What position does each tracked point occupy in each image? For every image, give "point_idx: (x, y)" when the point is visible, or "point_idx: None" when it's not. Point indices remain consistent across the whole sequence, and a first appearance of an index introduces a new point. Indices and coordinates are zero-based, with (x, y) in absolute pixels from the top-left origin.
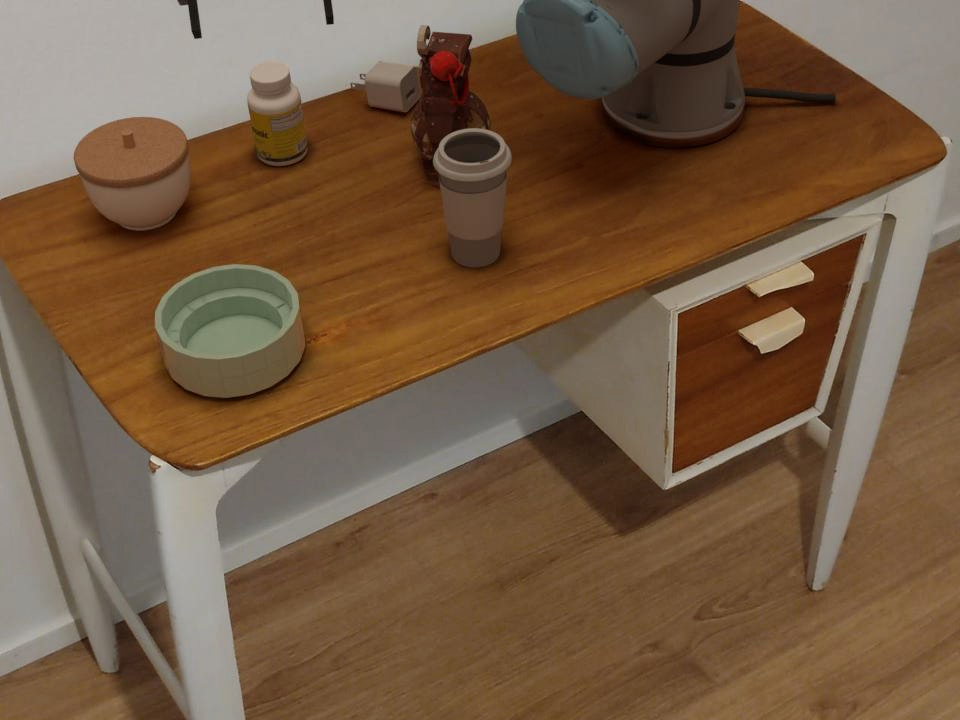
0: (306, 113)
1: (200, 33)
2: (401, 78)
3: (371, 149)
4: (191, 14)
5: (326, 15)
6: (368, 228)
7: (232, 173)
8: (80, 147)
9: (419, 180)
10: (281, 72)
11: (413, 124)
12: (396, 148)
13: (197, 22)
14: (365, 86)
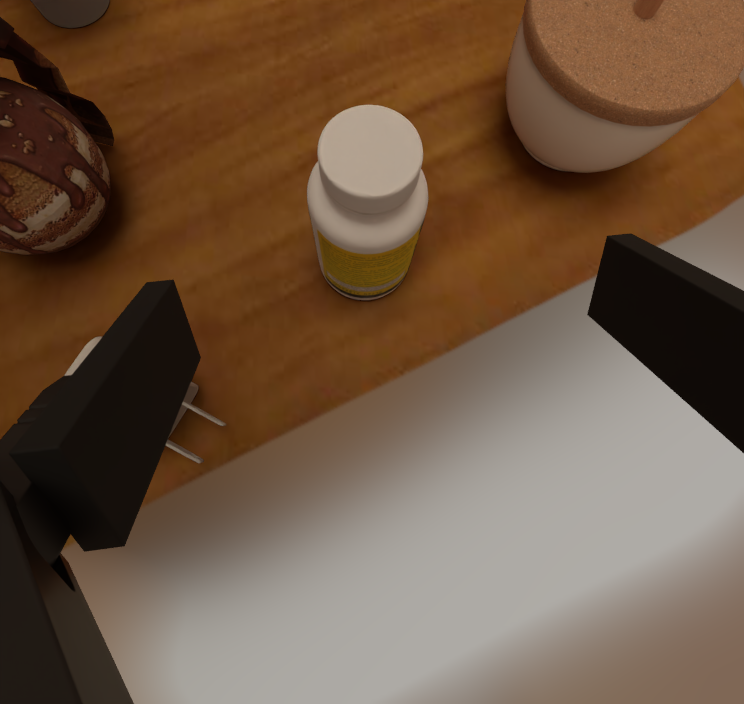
0: (326, 383)
1: (598, 279)
2: (85, 347)
3: (207, 256)
4: (662, 254)
5: (170, 281)
6: (225, 63)
7: (445, 212)
8: (741, 19)
9: (133, 164)
10: (337, 142)
11: (77, 136)
12: (162, 255)
13: (625, 243)
14: (189, 404)
